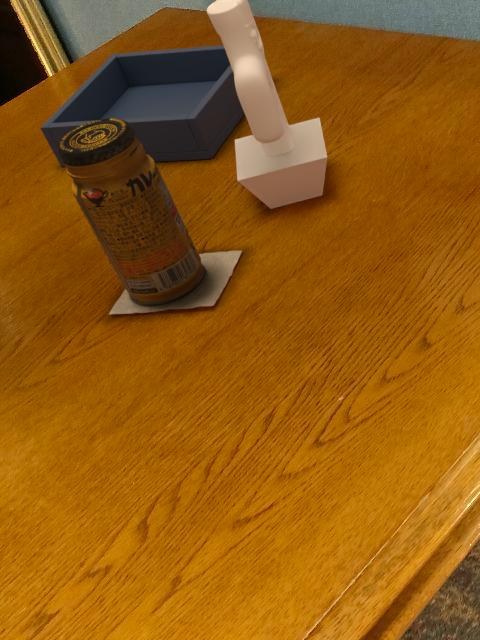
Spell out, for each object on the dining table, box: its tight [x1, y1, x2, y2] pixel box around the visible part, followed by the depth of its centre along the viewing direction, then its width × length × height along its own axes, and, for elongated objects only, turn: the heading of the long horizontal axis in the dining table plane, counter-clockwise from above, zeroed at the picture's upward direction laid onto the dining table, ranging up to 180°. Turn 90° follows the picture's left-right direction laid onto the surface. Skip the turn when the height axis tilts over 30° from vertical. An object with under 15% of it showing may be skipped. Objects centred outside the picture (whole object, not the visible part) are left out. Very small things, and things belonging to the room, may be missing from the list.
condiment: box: [58, 118, 243, 315], centre depth 72 cm, size 7×8×12 cm
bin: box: [39, 44, 245, 167], centre depth 94 cm, size 16×15×4 cm
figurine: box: [206, 0, 328, 210], centre depth 78 cm, size 7×9×15 cm
